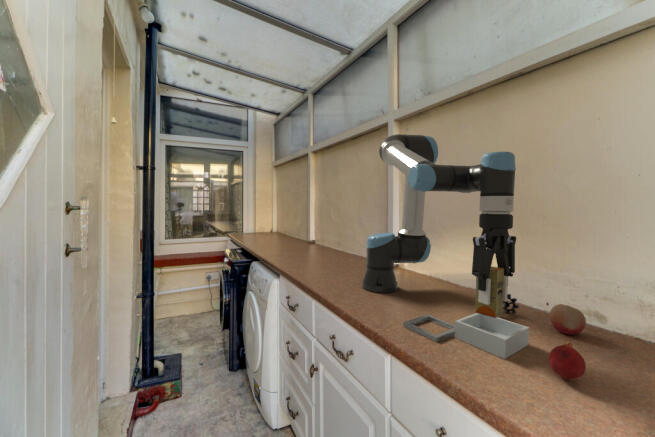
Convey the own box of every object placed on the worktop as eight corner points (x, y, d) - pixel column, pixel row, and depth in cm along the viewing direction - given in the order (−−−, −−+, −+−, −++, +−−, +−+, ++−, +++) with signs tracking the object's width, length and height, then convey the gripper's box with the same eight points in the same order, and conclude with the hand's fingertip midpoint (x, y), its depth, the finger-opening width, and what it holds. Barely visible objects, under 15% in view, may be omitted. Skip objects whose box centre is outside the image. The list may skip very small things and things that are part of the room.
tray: (454, 337, 76) (455, 320, 76) (479, 326, 83) (480, 311, 83) (504, 359, 66) (505, 339, 66) (528, 344, 73) (529, 327, 73)
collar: (402, 326, 83) (403, 322, 83) (427, 318, 90) (427, 314, 89) (436, 342, 74) (436, 337, 74) (461, 331, 80) (461, 327, 80)
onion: (574, 392, 55) (576, 351, 54) (541, 375, 60) (543, 338, 59) (590, 384, 57) (593, 345, 56) (557, 369, 62) (559, 333, 62)
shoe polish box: (475, 312, 75) (476, 267, 75) (482, 308, 78) (483, 265, 78) (495, 318, 71) (497, 270, 71) (502, 313, 75) (503, 268, 74)
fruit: (593, 338, 77) (595, 309, 77) (568, 340, 76) (570, 311, 75) (564, 325, 85) (565, 299, 85) (541, 327, 84) (542, 300, 83)
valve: (492, 322, 87) (518, 317, 92) (493, 301, 87) (519, 297, 91) (474, 314, 93) (499, 309, 98) (475, 294, 93) (500, 291, 98)
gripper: (483, 213, 66) (480, 311, 67) (534, 213, 73) (530, 301, 74) (457, 212, 73) (454, 301, 74) (506, 212, 80) (502, 293, 81)
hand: (492, 301), depth 74 cm, fingers closed on shoe polish box, 6 cm apart
